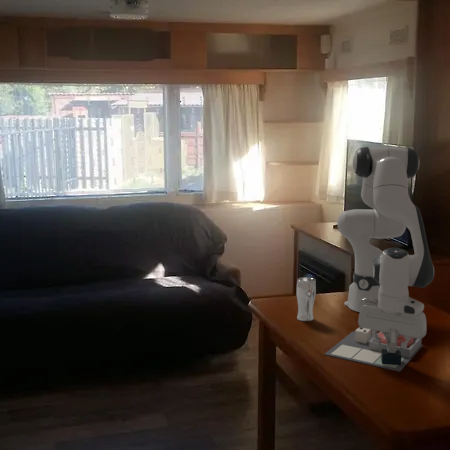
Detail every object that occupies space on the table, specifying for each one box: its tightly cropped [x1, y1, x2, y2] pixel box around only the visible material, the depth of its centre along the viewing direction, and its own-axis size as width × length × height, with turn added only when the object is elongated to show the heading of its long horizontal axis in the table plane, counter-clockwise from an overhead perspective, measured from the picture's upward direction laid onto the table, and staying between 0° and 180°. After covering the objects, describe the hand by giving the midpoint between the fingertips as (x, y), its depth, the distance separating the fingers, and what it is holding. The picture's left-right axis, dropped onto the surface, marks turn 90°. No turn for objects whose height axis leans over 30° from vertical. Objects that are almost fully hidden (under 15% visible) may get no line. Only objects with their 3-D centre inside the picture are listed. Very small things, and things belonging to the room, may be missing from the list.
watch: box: [381, 328, 401, 365], centre depth 191 cm, size 6×8×11 cm
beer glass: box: [296, 276, 317, 322], centre depth 231 cm, size 7×7×15 cm
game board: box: [324, 326, 424, 373], centre depth 201 cm, size 25×24×4 cm
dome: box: [377, 331, 414, 348], centre depth 203 cm, size 11×11×6 cm
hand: (390, 346), depth 192 cm, fingers open, 7 cm apart
